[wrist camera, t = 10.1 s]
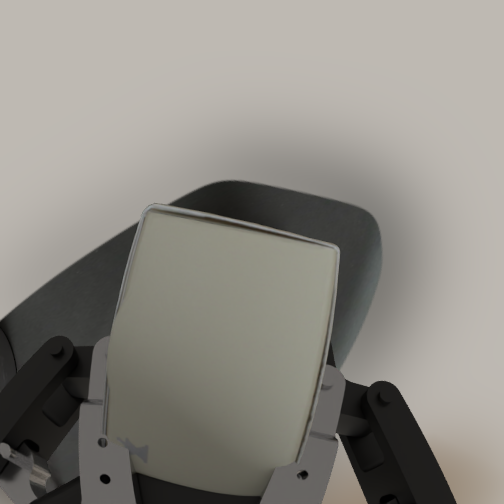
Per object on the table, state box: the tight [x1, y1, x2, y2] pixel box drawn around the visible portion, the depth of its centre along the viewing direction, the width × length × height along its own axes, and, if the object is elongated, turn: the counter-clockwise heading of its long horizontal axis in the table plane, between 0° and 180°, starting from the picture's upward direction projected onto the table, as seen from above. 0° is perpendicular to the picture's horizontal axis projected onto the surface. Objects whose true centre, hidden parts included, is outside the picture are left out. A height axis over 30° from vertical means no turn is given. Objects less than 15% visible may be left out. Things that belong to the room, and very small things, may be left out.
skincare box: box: [102, 203, 340, 496], centre depth 10 cm, size 6×4×12 cm
